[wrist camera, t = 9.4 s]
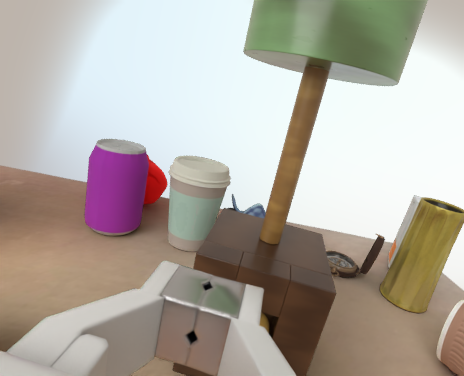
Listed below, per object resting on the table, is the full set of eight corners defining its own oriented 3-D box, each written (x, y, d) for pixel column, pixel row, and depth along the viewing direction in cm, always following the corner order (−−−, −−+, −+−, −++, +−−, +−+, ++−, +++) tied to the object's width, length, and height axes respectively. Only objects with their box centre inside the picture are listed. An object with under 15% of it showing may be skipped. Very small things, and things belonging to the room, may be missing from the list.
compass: (322, 252, 53) (336, 212, 51) (371, 273, 49) (387, 232, 47) (307, 269, 46) (322, 225, 44) (362, 296, 43) (381, 248, 40)
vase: (423, 320, 40) (471, 219, 36) (374, 295, 43) (413, 199, 39) (428, 301, 45) (472, 210, 41) (384, 280, 48) (420, 193, 44)
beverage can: (71, 226, 43) (76, 140, 39) (106, 209, 50) (114, 135, 47) (120, 244, 41) (131, 156, 38) (150, 224, 49) (161, 148, 45)
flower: (181, 185, 55) (152, 154, 49) (150, 219, 53) (116, 191, 48) (160, 173, 60) (132, 144, 55) (131, 203, 59) (100, 176, 53)
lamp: (166, 368, 26) (264, -130, 16) (201, 291, 36) (274, -39, 26) (299, 413, 25) (493, -95, 15) (296, 319, 35) (408, -14, 25)
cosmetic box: (386, 255, 57) (413, 194, 54) (412, 265, 56) (441, 203, 53) (386, 267, 52) (416, 200, 49) (414, 279, 50) (447, 211, 47)
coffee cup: (224, 240, 49) (241, 167, 46) (201, 264, 41) (219, 178, 38) (176, 222, 51) (188, 151, 48) (145, 242, 44) (158, 159, 40)
